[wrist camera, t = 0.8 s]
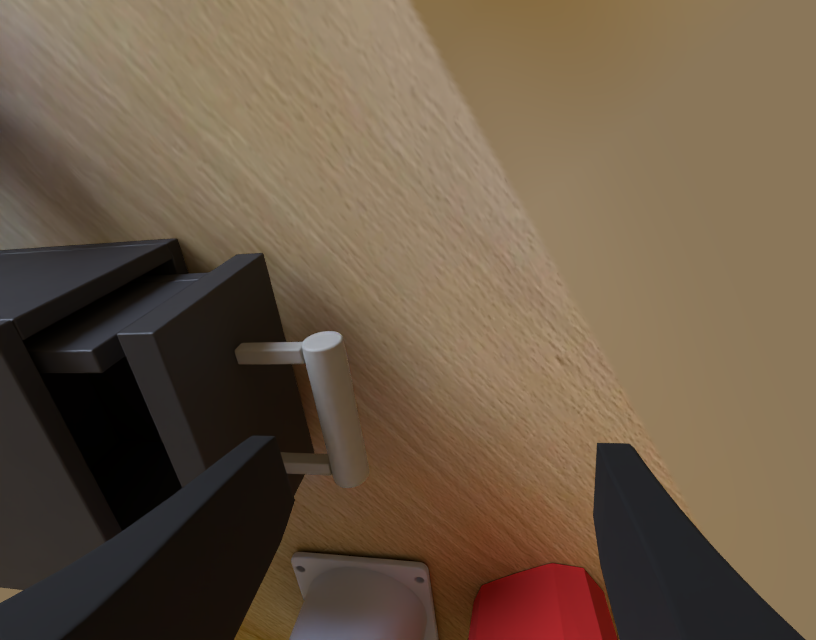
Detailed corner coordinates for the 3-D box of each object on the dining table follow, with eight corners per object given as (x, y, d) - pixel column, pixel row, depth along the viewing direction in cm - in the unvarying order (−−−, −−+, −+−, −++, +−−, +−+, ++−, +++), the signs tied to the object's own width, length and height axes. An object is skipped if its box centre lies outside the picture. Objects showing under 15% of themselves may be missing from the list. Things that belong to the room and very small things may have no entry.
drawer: (359, 246, 18) (287, 330, 12) (394, 457, 22) (354, 594, 17) (46, 265, 21) (-133, 339, 15) (131, 447, 25) (18, 559, 20)
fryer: (177, 237, 20) (-12, 331, 13) (248, 449, 25) (140, 605, 18) (-35, 252, 23) (-297, 337, 15) (67, 442, 28) (-94, 577, 20)
